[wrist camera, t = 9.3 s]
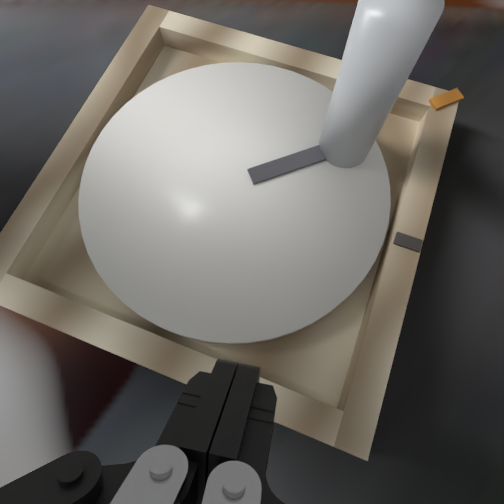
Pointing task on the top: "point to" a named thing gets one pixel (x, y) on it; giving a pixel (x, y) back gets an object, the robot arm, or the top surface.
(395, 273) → the dial housing
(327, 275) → the dial
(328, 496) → the top surface
